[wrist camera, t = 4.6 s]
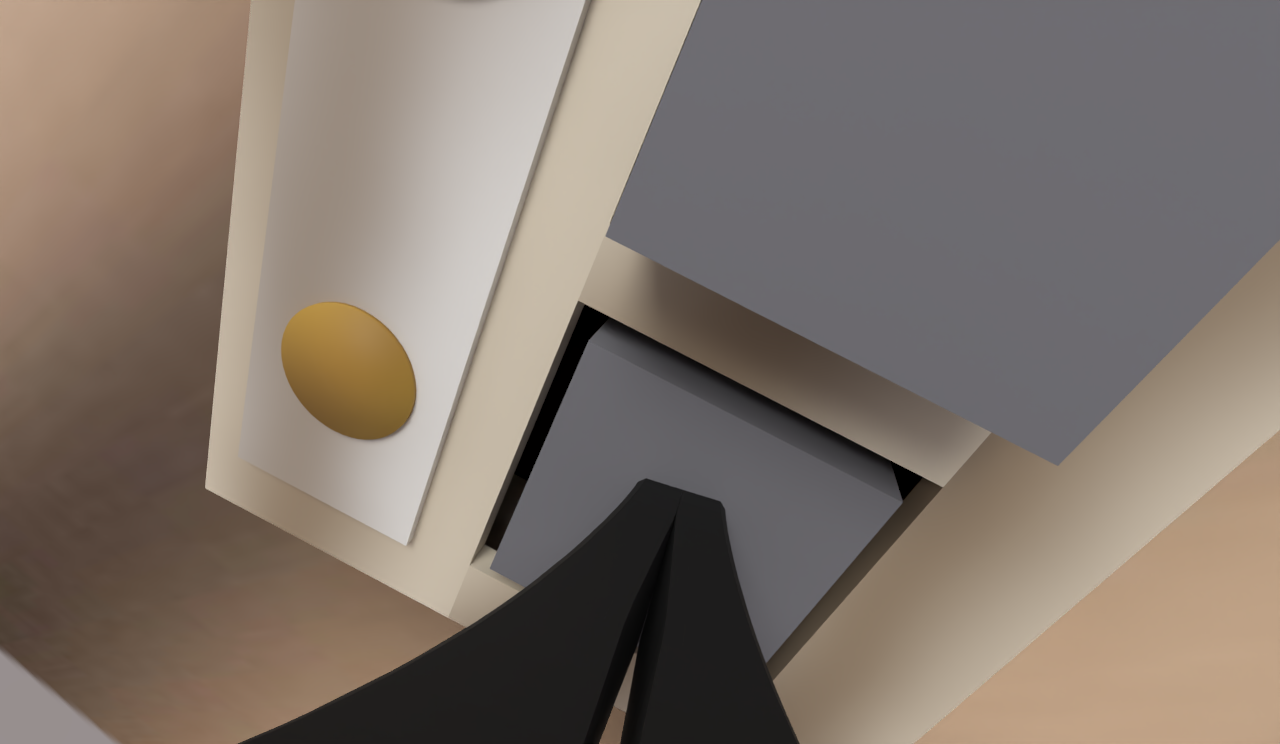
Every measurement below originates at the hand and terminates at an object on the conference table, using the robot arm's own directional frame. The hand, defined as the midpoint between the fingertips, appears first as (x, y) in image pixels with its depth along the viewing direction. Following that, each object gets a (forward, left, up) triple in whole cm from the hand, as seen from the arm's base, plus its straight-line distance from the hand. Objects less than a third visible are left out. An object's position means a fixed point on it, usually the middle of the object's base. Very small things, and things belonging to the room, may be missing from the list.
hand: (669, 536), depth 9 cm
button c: (0, 0, -3) cm, 3 cm away
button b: (0, -7, -2) cm, 7 cm away
